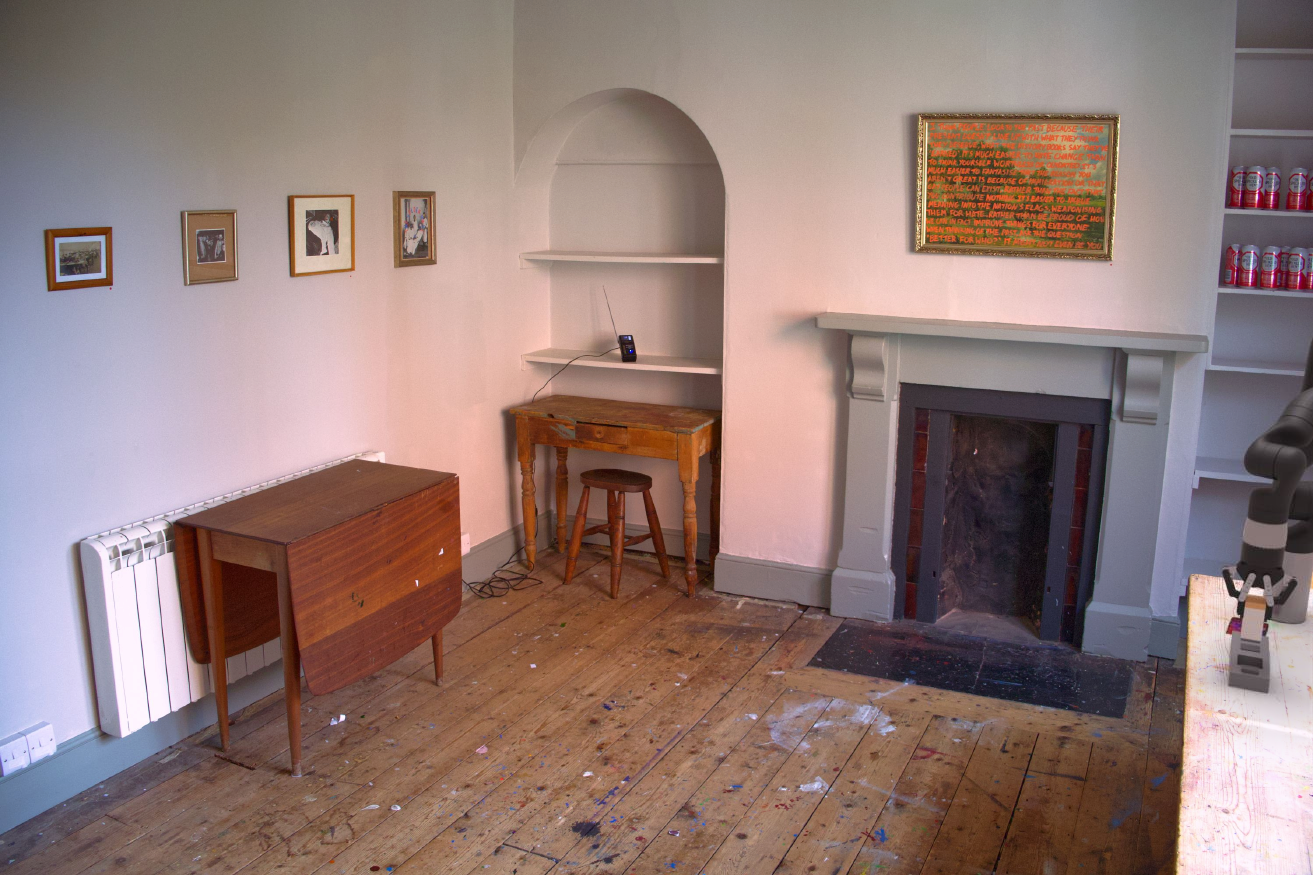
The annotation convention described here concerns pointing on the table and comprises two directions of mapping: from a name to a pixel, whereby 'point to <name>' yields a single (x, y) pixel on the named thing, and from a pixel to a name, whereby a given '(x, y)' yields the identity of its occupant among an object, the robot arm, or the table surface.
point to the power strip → (1249, 663)
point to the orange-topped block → (1253, 617)
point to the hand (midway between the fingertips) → (1253, 618)
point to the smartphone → (1237, 625)
